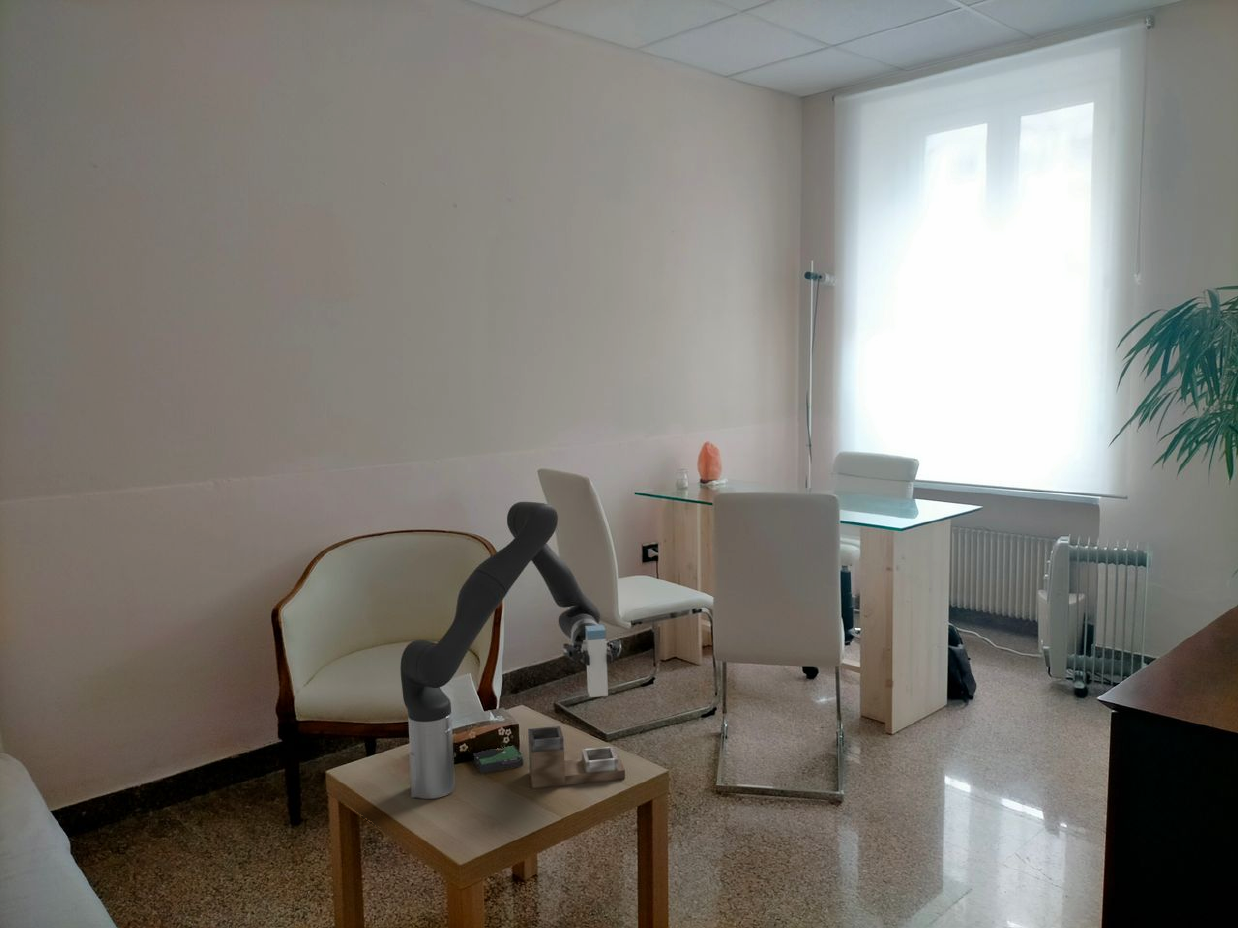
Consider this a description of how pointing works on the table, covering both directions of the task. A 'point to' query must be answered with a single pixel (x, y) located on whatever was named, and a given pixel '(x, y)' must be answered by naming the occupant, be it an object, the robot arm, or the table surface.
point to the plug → (596, 661)
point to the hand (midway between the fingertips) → (598, 660)
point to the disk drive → (498, 759)
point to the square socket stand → (568, 761)
